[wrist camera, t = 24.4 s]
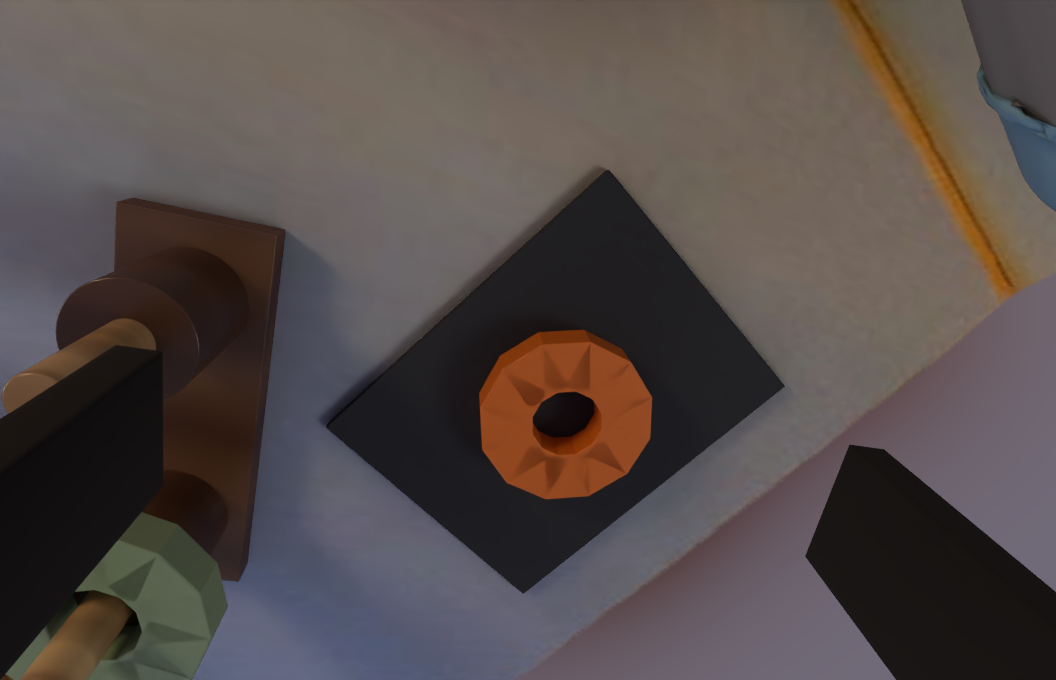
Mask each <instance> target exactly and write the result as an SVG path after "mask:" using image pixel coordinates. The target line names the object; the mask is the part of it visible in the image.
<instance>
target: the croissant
mask: <svg viewBox="0 0 1056 680" xmlns="http://www.w3.org/2000/svg"><path fill="white" fill-rule="evenodd" d="M1 680H13V679H12V678H11V677H9V676H8V675H7V674H5V675H4V676H3V678H2V679H1Z"/></svg>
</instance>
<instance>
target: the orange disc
mask: <svg viewBox="0 0 1056 680" xmlns="http://www.w3.org/2000/svg"><path fill="white" fill-rule="evenodd" d="M561 392H578V393H580V394H582V395H585V396H587V397H589V398H591V399H592V400H593V401H594V415H593V417H592V418H591V420H590V421H589V423H588V425H587V426H586V428H585V429H583V430H581V431H580V432H578V433H576V434H575V435H573V436H571V437H556V438H553V437H551V436H548V435H546V434H544V433H542V432H539V431H538V430H537V428H536V427H535V425H534V424H533V416H534V414H535V412H536V411H537V409H538V407H539V406H540V404H541V402H543V401H545V400H546V399H548V398H550V397H551V396H553V395H555V394H556V393H561ZM479 401H480V420H481V439H482V450H483V451H484V453H485V454H486V456H487V457H488V458H489V460H490V461H491V462H492V464H493V465H494V466H495V468H496V469H497V470H498V472H499V473H500V474H501V476H502V477H503V478H504V480H505V481H506V482H507V483H508V484H511V485H513V486H516V487H518V488H520V489H523V490H525V491H527V492H530V493H532V494H535V495H537V496H539V497H542V498H544V499H556V498H570V497H583V496H590V495H591V494H593V493H595V492H596V491H598V490H600V489H602V488H603V487H605V486H607V485H609V484H610V483H612V482H614V481H616V480H617V479H619V478H621V477H623V476H624V475H626V474H627V473H628V472H629V470H630V469H631V467H632V466H633V464H634V463H635V461H636V460H637V458H638V457H639V455H640V453H641V452H642V450H643V449H644V447H645V446H646V444H647V443H648V441H649V440H650V434H651V412H652V396H651V395H650V393H649V391H648V390H647V388H646V386H645V384H644V383H643V381H642V379H641V378H640V376H639V374H638V373H637V371H636V369H635V368H634V366H633V364H632V363H631V361H630V360H629V358H628V357H627V355H626V354H625V352H624V351H623V349H621V348H619V347H617V346H615V345H613V344H611V343H609V342H607V341H605V340H603V339H601V338H599V337H597V336H595V335H593V334H592V333H590V332H588V331H586V330H569V331H550V332H538V333H536V334H535V335H533V336H531V337H530V338H528V339H526V340H525V341H523V342H522V343H520V344H518V345H517V346H515V347H513V348H512V349H510V350H508V351H507V352H505V353H503V354H502V355H500V357H499V358H498V360H497V362H496V364H495V366H494V367H493V369H492V371H491V373H490V375H489V376H488V378H487V380H486V382H485V383H484V385H483V387H482V389H481V391H480V392H479Z"/></svg>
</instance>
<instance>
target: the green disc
mask: <svg viewBox="0 0 1056 680" xmlns="http://www.w3.org/2000/svg"><path fill="white" fill-rule="evenodd" d="M90 590H96V591H99V592H102V593H106V594H109V595H112V596H115V597H118V598H120V599H121V600H123V601H124V602H125V603H126V604H127V605H128V606H129V607H130V608H132V609H133V610H134V611H135V612H136V614H137V617H138V620H139V624H140V625H132V626H124V627H123V629H122V630H121V632H120V633H119V634H118V636H117V637H116V639H115V640H114V642H113V643H112V645H111V646H110V648H109V649H108V651H107V652H106V654H105V655H104V657H103V658H102V660H101V661H100V663H99V664H98V666H97V667H96V669H95V670H94V671H93V673H92V674H91V676H90V677H89V679H88V680H191V679H193V677H194V675H195V673H196V671H197V669H198V667H199V665H200V663H201V661H202V659H203V657H204V655H205V653H206V651H207V649H208V647H209V645H210V642H211V640H212V638H213V636H214V634H215V632H216V630H217V628H218V626H219V624H220V621H221V619H222V617H223V615H224V613H225V611H226V609H227V607H228V605H227V601H226V597H225V593H224V588H223V584H222V580H221V576H220V571H219V567H218V563H217V562H216V561H215V560H214V559H213V558H212V557H211V556H210V555H209V554H208V553H207V552H206V551H205V550H204V549H203V548H202V547H201V546H200V545H199V544H198V543H197V542H196V541H195V540H194V539H193V538H191V537H190V536H189V535H188V534H187V533H186V532H185V531H184V530H183V529H182V528H181V527H180V526H179V525H178V524H175V523H172V522H169V521H166V520H163V519H160V518H158V517H155V516H152V515H149V514H146V513H143V512H141V514H140V515H139V516H138V517H137V518H136V520H135V521H134V522H133V523H132V524H131V525H130V527H129V528H128V529H127V530H126V531H125V533H124V534H123V535H122V536H121V537H120V539H119V540H118V541H117V542H116V543H115V544H114V546H113V547H112V548H111V549H110V550H109V552H108V553H107V554H106V555H105V556H104V558H103V559H102V560H101V561H100V562H99V563H98V565H97V566H96V567H95V568H94V569H93V571H92V572H91V573H90V574H89V575H88V577H87V578H86V579H85V580H84V581H83V583H82V584H81V585H80V586H79V587H78V588H77V590H76V591H75V592H78V591H90ZM77 606H78V605H77V602H76V599H75V596H74V593H73V594H72V596H71V597H70V598H69V599H68V600H67V602H66V603H65V604H64V605H63V606H62V607H61V609H60V610H59V611H58V612H57V613H56V615H55V616H54V617H53V618H52V619H51V621H50V622H49V623H48V624H47V625H46V626H45V628H44V629H43V630H42V631H41V632H40V634H39V635H38V636H37V637H36V638H35V640H34V641H33V642H32V643H31V644H30V646H29V647H28V648H27V649H26V650H25V651H24V653H23V654H22V655H21V656H20V657H19V659H18V660H17V661H16V662H15V663H14V665H13V666H12V667H11V668H10V669H9V670H8V672H7V673H6V674H7V675H8V676H9V677H11V678H12V679H13V680H19V679H20V678H21V677H22V675H23V674H24V673H25V672H26V670H27V669H28V668H29V667H30V665H31V664H32V663H33V662H34V660H35V659H36V658H37V657H38V655H39V654H40V653H41V652H42V650H43V649H44V648H45V647H46V645H47V644H48V643H49V642H50V640H51V639H52V638H53V637H54V635H55V634H56V633H57V632H58V630H59V629H60V628H61V626H62V625H63V624H64V623H65V621H66V620H67V619H68V618H69V616H70V615H71V614H72V613H73V611H74V610H75V609H76V608H77Z"/></svg>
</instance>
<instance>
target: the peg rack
mask: <svg viewBox="0 0 1056 680" xmlns="http://www.w3.org/2000/svg"><path fill="white" fill-rule="evenodd" d="M284 239H285V230H284V229H279V228H274V227H270V226H265V225H260V224H255V223H251V222H246V221H241V220H236V219H231V218H227V217H222V216H217V215H212V214H207V213H203V212H198V211H193V210H188V209H184V208H179V207H174V206H169V205H164V204H160V203H155V202H150V201H145V200H141V199H136V198H130V199H126V200H122V201H118V202H116V225H115V257H114V272H112V273H109V274H107V275H105V276H102V277H100V278H98V279H95V280H93V281H91V282H88V283H86V284H84V285H83V286H81V287H79V288H78V289H76V290H75V291H74V292H73V293H71V295H70V296H69V297H68V298H67V299H66V300H65V302H64V303H63V305H62V307H61V309H60V311H59V314H58V317H57V322H56V340H57V344H58V348H59V351H58V352H56V353H54V354H53V355H51V356H49V357H47V358H46V359H44V360H42V361H40V362H39V363H37V364H35V365H33V366H32V367H30V368H28V369H26V370H24V371H23V372H21V373H19V374H17V375H16V376H14V377H12V378H11V379H10V380H9V381H8V382H7V383H6V385H5V387H4V389H3V393H2V401H3V405H4V408H5V410H6V412H7V413H8V414H9V413H10V412H12V411H14V410H15V409H17V408H18V407H20V406H21V405H23V404H24V403H26V402H28V401H29V400H31V399H32V398H34V397H35V396H37V395H39V394H40V393H42V392H43V391H45V390H46V389H48V388H49V387H51V386H53V385H54V384H56V383H57V382H59V381H60V380H62V379H63V378H65V377H67V376H68V375H70V374H71V373H73V372H74V371H76V370H77V369H79V368H81V367H82V366H84V365H85V364H87V363H88V362H90V361H91V360H93V359H95V358H96V357H98V356H99V355H101V354H102V353H104V352H106V351H107V350H109V349H110V348H112V347H113V346H115V345H120V346H127V347H135V348H142V349H149V350H157V351H163V482H164V486H163V487H162V489H161V490H160V491H159V492H158V493H157V495H156V496H155V497H154V498H153V499H152V501H151V502H150V503H149V504H148V505H147V506H146V508H145V509H144V510H143V511H142V512H143V513H146V514H149V515H152V516H155V517H158V518H160V519H163V520H166V521H169V522H172V523H175V524H178V525H179V526H180V527H181V528H182V529H183V530H184V531H185V532H186V533H187V534H188V535H189V536H190V537H191V538H193V539H194V540H195V541H196V542H197V543H198V544H199V545H200V546H201V547H202V548H203V549H204V550H205V551H206V552H207V553H208V554H209V555H210V556H211V557H212V558H213V559H214V560H215V561H216V562H217V563H218V567H219V571H220V576H221V580H228V581H236V582H238V581H239V580H240V578H241V576H242V574H243V572H244V570H245V568H246V566H247V561H248V552H249V543H250V535H251V526H252V517H253V509H254V500H255V491H256V483H257V474H258V465H259V457H260V448H261V439H262V430H263V422H264V413H265V404H266V396H267V387H268V378H269V370H270V361H271V352H272V344H273V335H274V326H275V317H276V309H277V300H278V291H279V283H280V274H281V265H282V257H283V248H284ZM74 596H75V599H76V602H77V605H78V606H77V608H76V609H75V610H74V611H73V613H72V614H71V615H70V616H69V618H68V619H67V620H66V621H65V623H64V624H63V625H62V626H61V628H60V629H59V630H58V632H57V633H56V634H55V635H54V637H53V638H52V639H51V640H50V642H49V643H48V644H47V645H46V647H45V648H44V649H43V650H42V652H41V653H40V654H39V655H38V657H37V658H36V659H35V660H34V662H33V663H32V664H31V665H30V667H29V668H28V669H27V670H26V672H25V673H24V674H23V675H22V677H21V678H20V679H19V680H88V679H89V677H90V676H91V674H92V673H93V671H94V670H95V669H96V667H97V666H98V664H99V663H100V661H101V660H102V658H103V657H104V655H105V654H106V652H107V651H108V649H109V648H110V646H111V645H112V643H113V642H114V640H115V639H116V637H117V636H118V634H119V633H120V632H121V630H122V629H123V627H124V626H132V625H140V624H139V620H138V617H137V614H136V612H135V611H134V610H133V609H132V608H130V607H129V606H128V605H127V604H126V603H125V602H124V601H123V600H121V599H120V598H118V597H115V596H112V595H109V594H106V593H102V592H99V591H96V590H90V591H78V592H74Z"/></svg>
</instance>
